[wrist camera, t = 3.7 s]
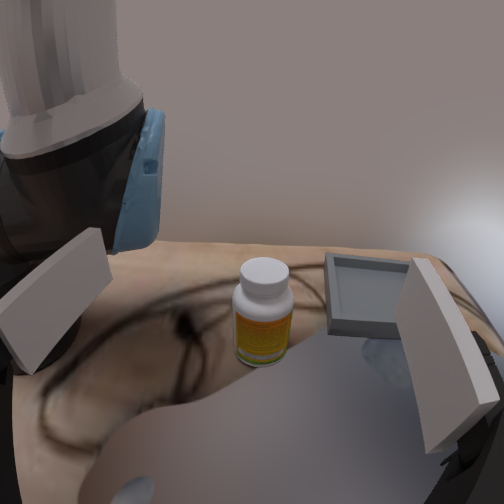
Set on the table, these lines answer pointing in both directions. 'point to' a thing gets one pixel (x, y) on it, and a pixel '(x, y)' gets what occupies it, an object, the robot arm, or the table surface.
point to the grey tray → (362, 295)
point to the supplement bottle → (262, 312)
